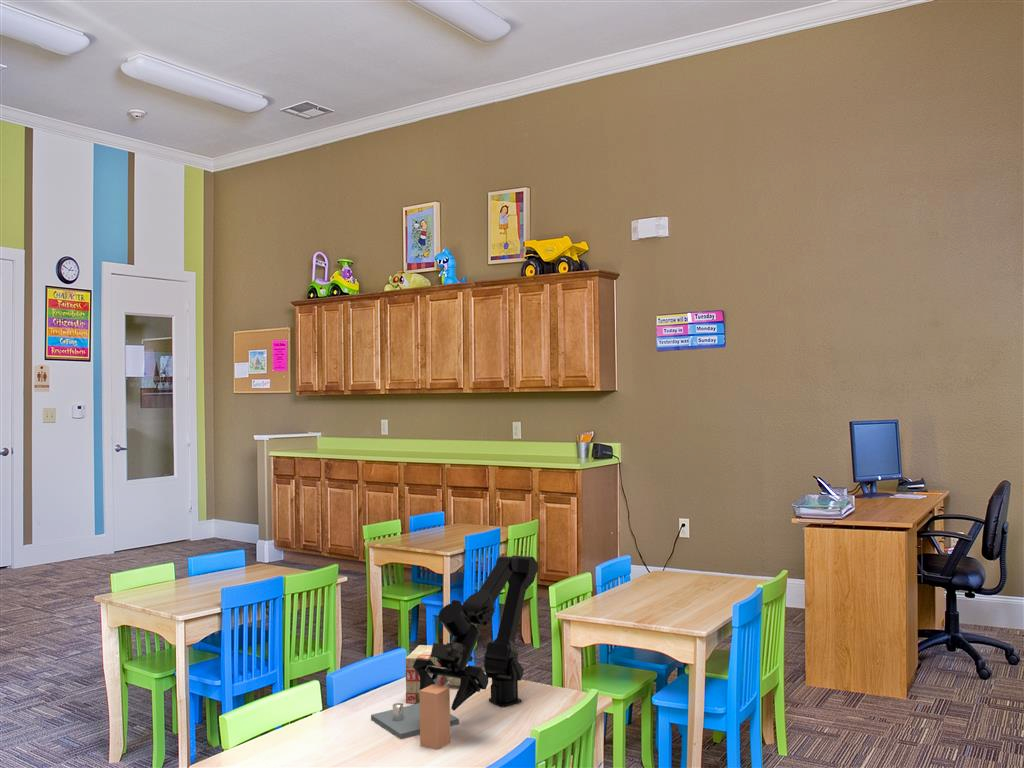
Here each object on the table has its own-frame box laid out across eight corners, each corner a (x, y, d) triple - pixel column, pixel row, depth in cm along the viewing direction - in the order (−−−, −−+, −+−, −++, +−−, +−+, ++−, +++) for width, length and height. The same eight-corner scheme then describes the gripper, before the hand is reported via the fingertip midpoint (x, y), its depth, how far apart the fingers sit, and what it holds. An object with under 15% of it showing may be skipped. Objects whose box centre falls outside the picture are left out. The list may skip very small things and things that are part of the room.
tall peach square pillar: (432, 738, 195) (431, 684, 196) (450, 742, 193) (449, 687, 193) (420, 745, 191) (419, 690, 191) (438, 749, 188) (437, 693, 189)
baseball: (440, 685, 234) (440, 661, 234) (461, 680, 238) (461, 656, 239) (453, 691, 228) (453, 667, 229) (475, 686, 233) (475, 661, 233)
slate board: (426, 705, 217) (426, 701, 217) (458, 723, 204) (458, 718, 204) (371, 719, 208) (371, 714, 208) (400, 739, 195) (400, 733, 195)
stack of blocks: (428, 679, 240) (428, 636, 241) (449, 679, 239) (448, 636, 240) (405, 704, 219) (405, 657, 220) (428, 705, 218) (427, 657, 219)
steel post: (400, 721, 207) (400, 702, 207) (405, 724, 204) (405, 705, 205) (391, 723, 205) (390, 704, 205) (396, 726, 203) (395, 707, 203)
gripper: (416, 624, 203) (388, 682, 193) (481, 632, 193) (455, 694, 183) (435, 649, 209) (409, 706, 199) (499, 658, 200) (475, 719, 190)
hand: (436, 706), depth 193 cm, fingers open, 9 cm apart
